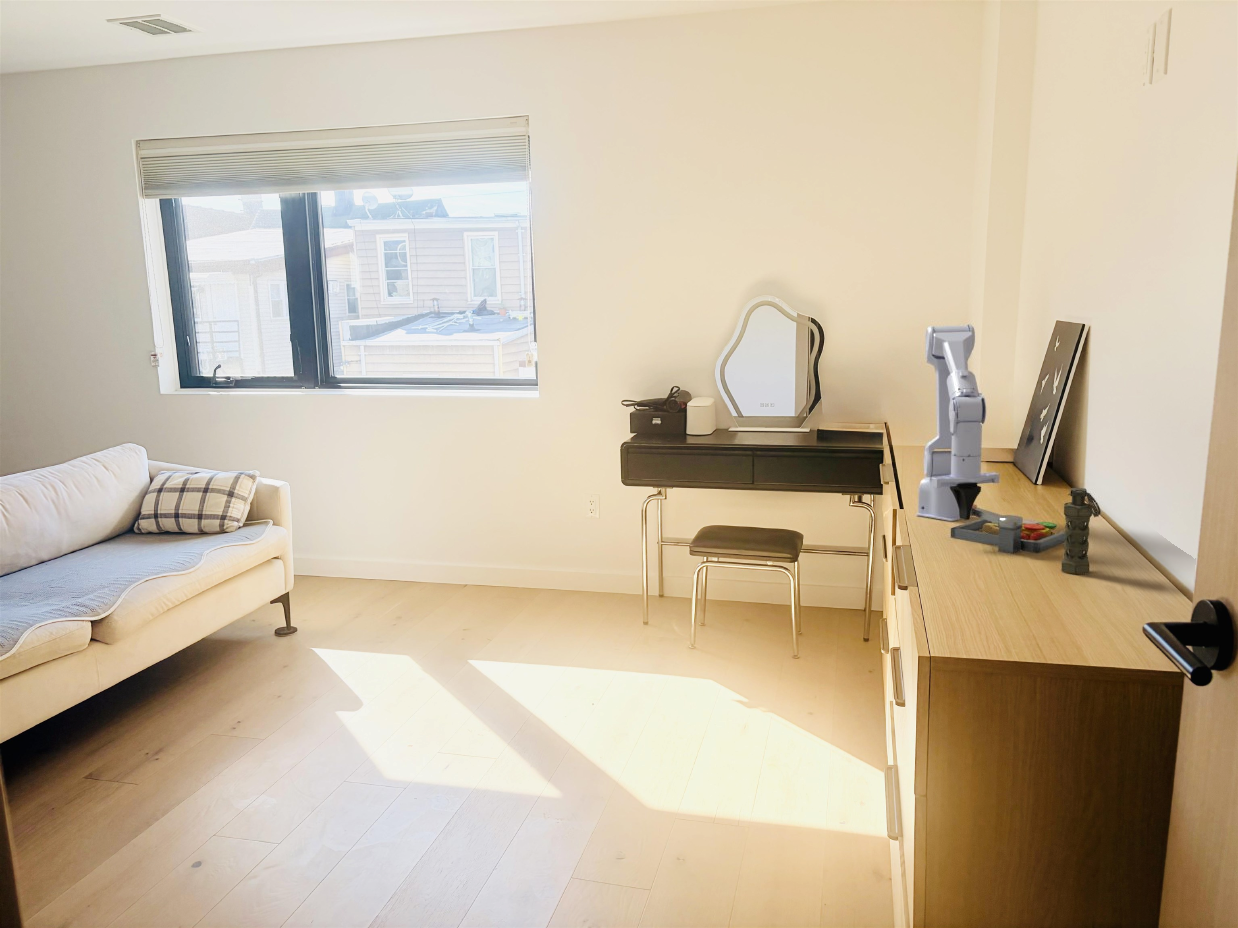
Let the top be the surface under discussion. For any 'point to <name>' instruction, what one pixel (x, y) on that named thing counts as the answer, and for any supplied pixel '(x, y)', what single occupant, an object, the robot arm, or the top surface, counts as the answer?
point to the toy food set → (1026, 529)
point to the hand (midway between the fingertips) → (964, 519)
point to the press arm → (998, 518)
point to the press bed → (1005, 538)
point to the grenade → (1078, 531)
